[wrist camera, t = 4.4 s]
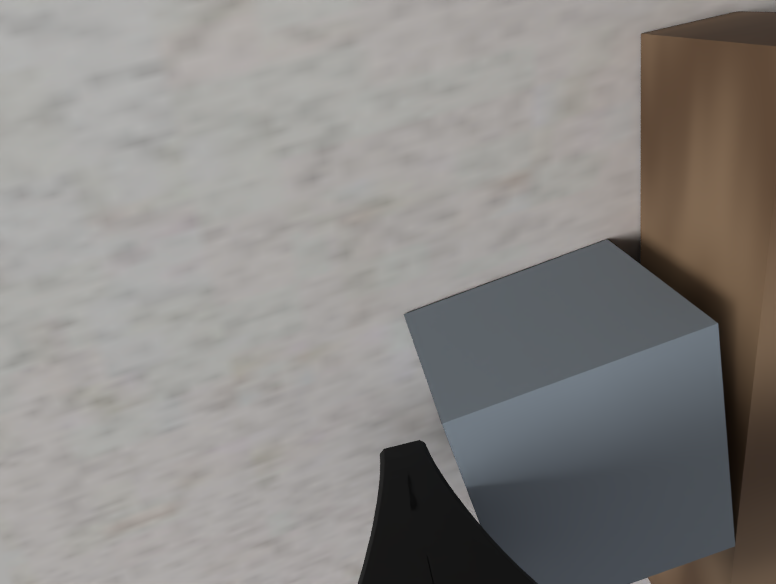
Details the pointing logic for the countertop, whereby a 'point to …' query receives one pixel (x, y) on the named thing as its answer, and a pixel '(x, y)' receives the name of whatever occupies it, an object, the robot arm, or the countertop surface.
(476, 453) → the slate block
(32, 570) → the countertop surface
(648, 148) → the walnut board
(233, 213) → the countertop surface
